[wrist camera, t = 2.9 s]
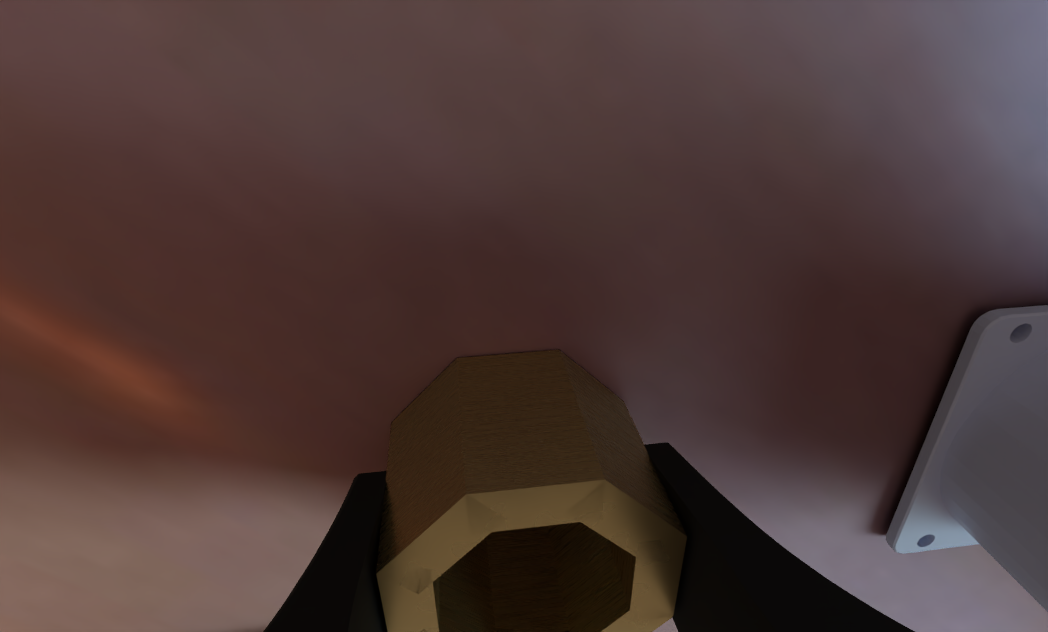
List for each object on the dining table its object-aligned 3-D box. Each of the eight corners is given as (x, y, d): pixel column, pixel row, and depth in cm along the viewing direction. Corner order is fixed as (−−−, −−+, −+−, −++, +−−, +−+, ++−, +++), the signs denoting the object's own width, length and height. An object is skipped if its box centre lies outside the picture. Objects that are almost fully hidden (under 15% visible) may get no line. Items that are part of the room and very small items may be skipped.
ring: (628, 343, 13) (699, 469, 10) (613, 516, 16) (665, 664, 12) (382, 363, 12) (362, 505, 9) (408, 540, 15) (401, 703, 12)
